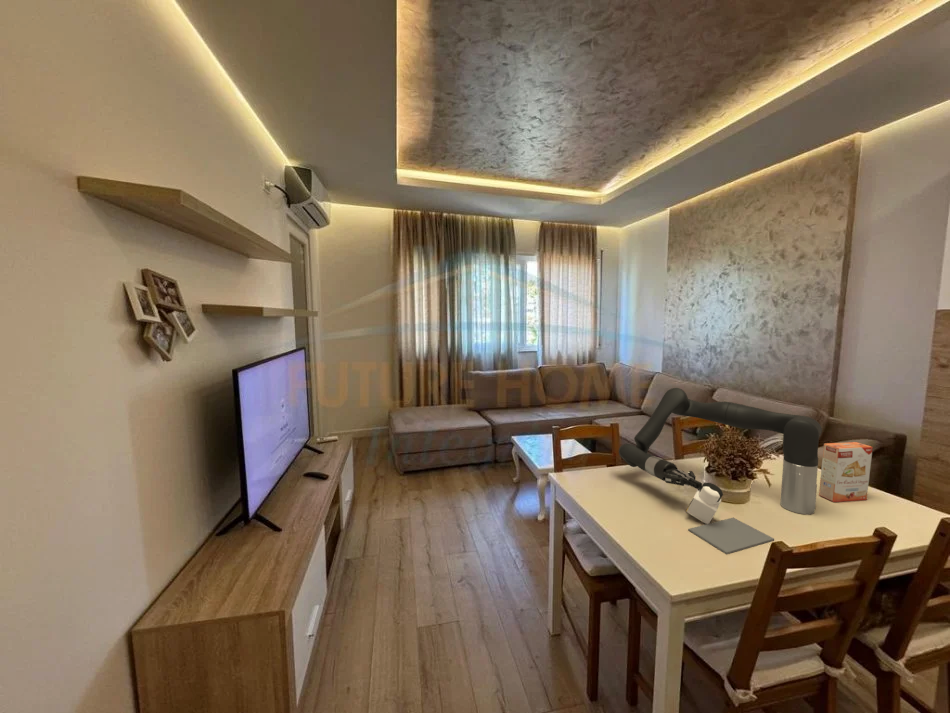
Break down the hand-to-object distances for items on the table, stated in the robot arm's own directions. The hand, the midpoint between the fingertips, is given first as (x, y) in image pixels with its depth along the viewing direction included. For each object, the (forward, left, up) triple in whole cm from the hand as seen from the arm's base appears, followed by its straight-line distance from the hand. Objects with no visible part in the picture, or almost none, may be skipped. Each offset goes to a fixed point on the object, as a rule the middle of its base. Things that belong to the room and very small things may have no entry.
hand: (700, 486), depth 127 cm
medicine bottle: (0, 0, -10) cm, 10 cm away
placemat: (0, +11, -11) cm, 16 cm away
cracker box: (-62, +8, -12) cm, 64 cm away
